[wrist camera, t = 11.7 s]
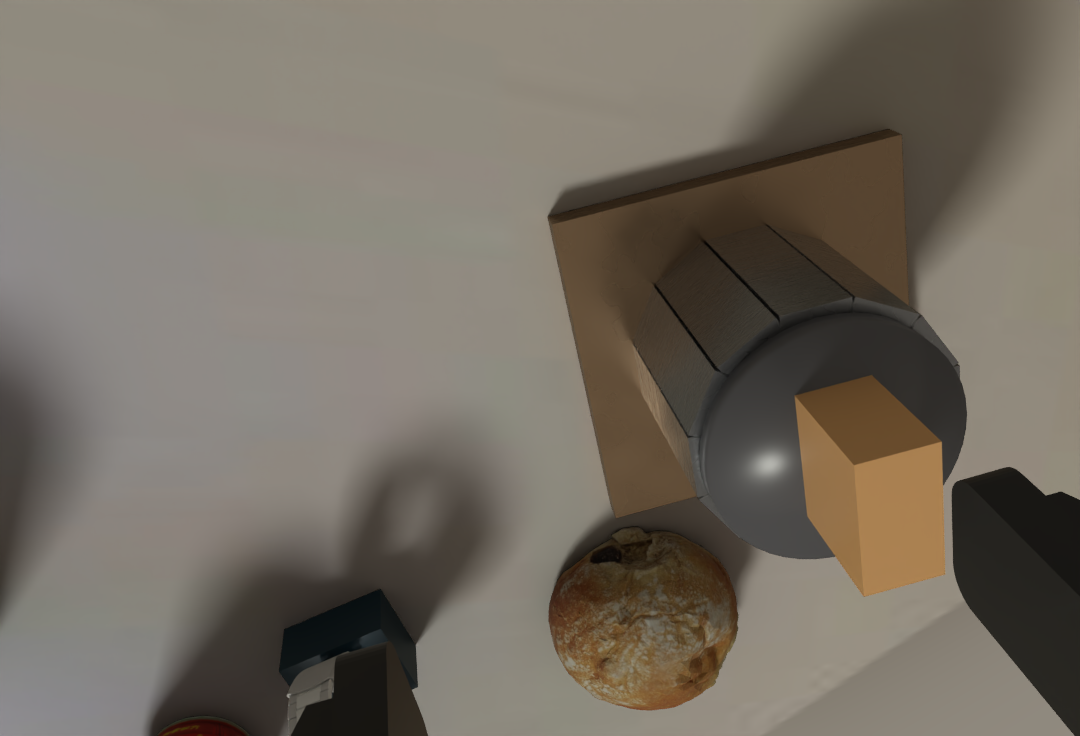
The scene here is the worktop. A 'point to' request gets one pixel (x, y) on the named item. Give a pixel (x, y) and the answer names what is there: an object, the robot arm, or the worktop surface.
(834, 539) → the cap
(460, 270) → the worktop surface
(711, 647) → the bread roll
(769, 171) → the gray cylinder on base
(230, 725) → the soda can
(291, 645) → the watch
